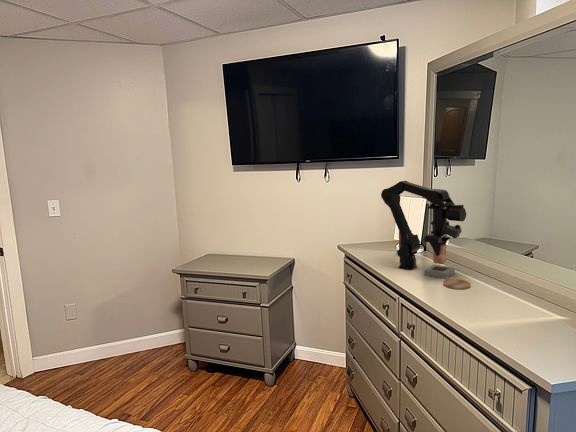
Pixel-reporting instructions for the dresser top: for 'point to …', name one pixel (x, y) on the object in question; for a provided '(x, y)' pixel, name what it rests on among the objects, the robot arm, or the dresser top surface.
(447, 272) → the collar
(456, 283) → the pad
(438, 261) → the block
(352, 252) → the dresser top surface
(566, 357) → the dresser top surface
